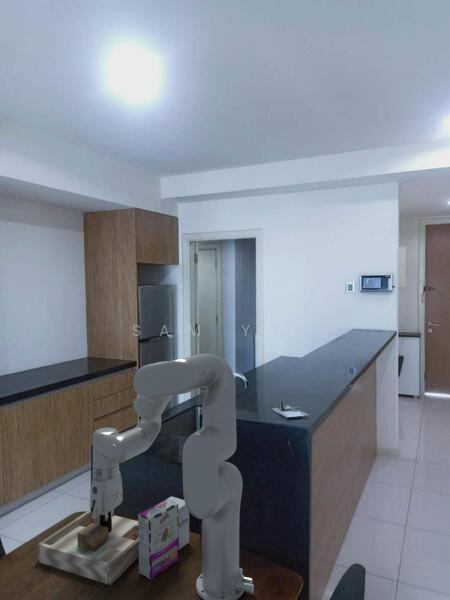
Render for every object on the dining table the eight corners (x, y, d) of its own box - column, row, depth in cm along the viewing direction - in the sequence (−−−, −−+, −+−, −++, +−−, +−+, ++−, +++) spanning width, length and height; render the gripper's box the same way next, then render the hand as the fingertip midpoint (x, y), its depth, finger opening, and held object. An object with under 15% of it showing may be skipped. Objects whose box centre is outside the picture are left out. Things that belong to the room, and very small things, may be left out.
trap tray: (161, 536, 138) (161, 520, 138) (110, 585, 115) (110, 565, 115) (96, 520, 148) (96, 505, 148) (37, 561, 125) (37, 544, 125)
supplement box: (174, 554, 128) (174, 511, 128) (155, 546, 133) (155, 504, 132) (190, 542, 135) (190, 501, 134) (171, 535, 139) (171, 495, 138)
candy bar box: (166, 554, 129) (166, 498, 128) (179, 560, 126) (179, 503, 125) (137, 573, 120) (137, 513, 119) (150, 581, 117) (150, 519, 116)
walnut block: (108, 541, 130) (108, 527, 130) (94, 551, 125) (94, 537, 125) (92, 536, 133) (92, 522, 133) (77, 546, 127) (77, 532, 127)
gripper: (99, 482, 125) (99, 547, 125) (131, 464, 138) (131, 522, 139) (78, 478, 128) (78, 541, 128) (111, 460, 141) (111, 517, 142)
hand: (105, 531), depth 133 cm, fingers closed
